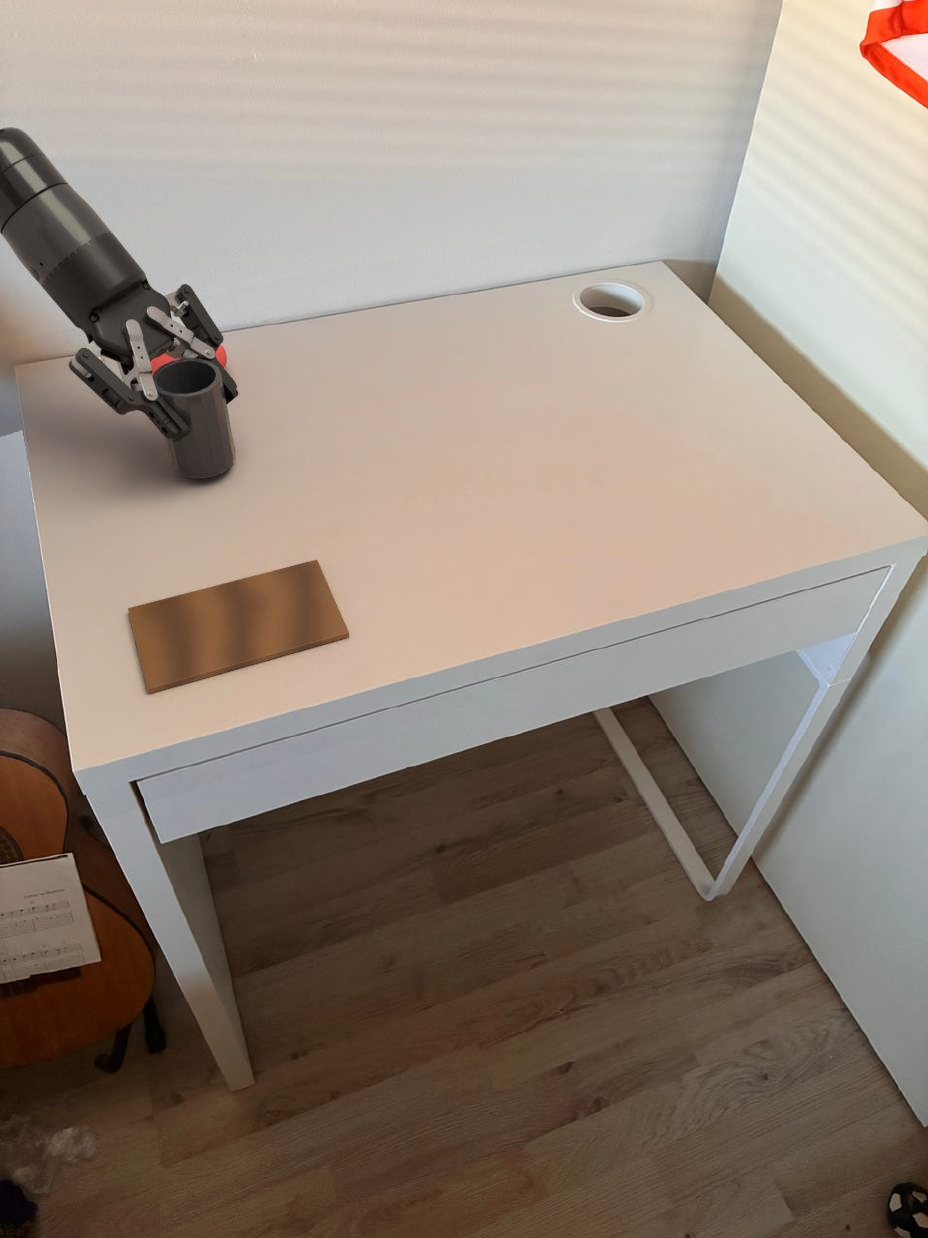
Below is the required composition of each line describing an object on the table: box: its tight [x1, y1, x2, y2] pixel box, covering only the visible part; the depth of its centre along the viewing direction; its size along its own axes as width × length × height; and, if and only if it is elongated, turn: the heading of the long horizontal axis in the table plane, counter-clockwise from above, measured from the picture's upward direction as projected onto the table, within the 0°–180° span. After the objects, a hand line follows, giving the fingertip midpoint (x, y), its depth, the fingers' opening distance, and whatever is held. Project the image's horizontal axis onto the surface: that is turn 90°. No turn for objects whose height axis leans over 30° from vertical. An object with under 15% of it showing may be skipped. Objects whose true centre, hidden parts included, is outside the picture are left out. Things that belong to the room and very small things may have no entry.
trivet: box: [127, 559, 350, 695], centre depth 77 cm, size 16×9×1 cm, turn 112°
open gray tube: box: [152, 358, 236, 479], centre depth 87 cm, size 6×6×9 cm
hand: (208, 417), depth 86 cm, fingers closed on open gray tube, 6 cm apart
